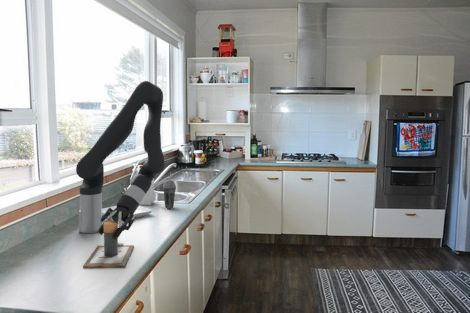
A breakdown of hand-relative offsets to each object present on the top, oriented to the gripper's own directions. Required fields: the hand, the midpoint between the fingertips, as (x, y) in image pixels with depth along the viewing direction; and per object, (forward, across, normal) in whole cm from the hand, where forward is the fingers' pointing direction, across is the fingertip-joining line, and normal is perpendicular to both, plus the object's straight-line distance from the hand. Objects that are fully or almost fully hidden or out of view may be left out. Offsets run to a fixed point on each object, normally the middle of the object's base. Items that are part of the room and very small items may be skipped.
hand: (106, 235), depth 140 cm
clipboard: (+5, 0, +7) cm, 9 cm away
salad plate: (-23, -40, +36) cm, 59 cm away
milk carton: (-41, -50, +53) cm, 84 cm away
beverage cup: (-42, -33, +54) cm, 76 cm away
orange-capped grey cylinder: (+4, 0, +6) cm, 8 cm away
